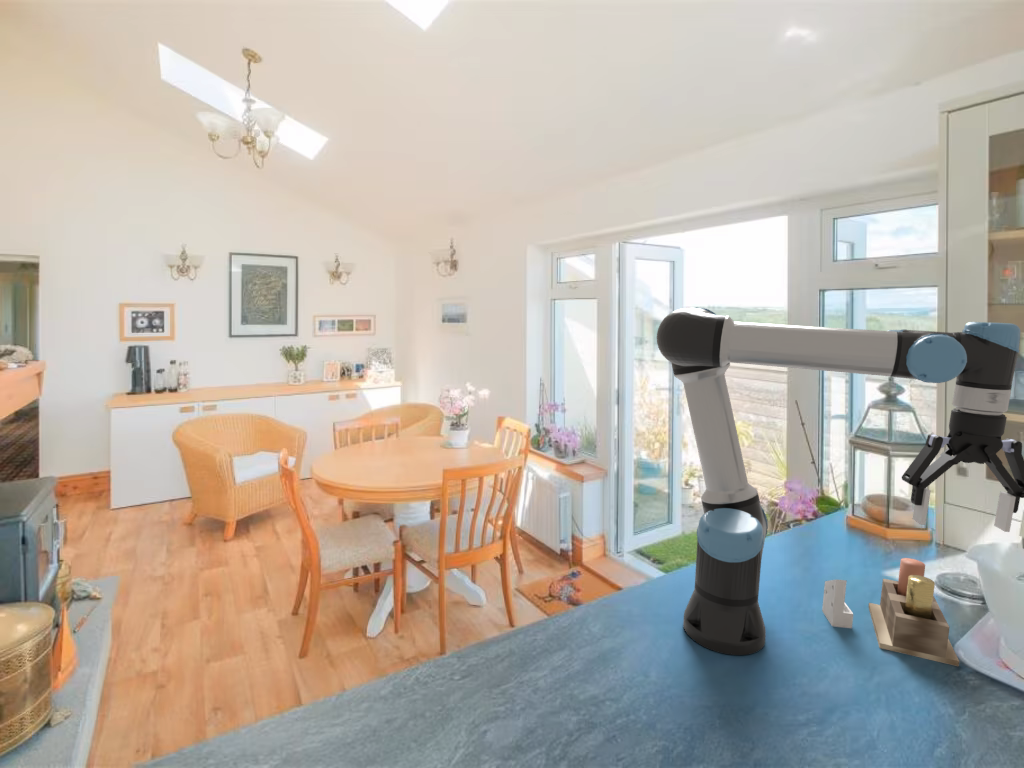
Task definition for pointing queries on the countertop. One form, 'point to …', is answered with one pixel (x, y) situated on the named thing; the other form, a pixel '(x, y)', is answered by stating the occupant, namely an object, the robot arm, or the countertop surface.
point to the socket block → (911, 628)
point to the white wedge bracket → (836, 604)
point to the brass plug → (919, 596)
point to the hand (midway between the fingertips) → (959, 525)
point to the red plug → (908, 573)
